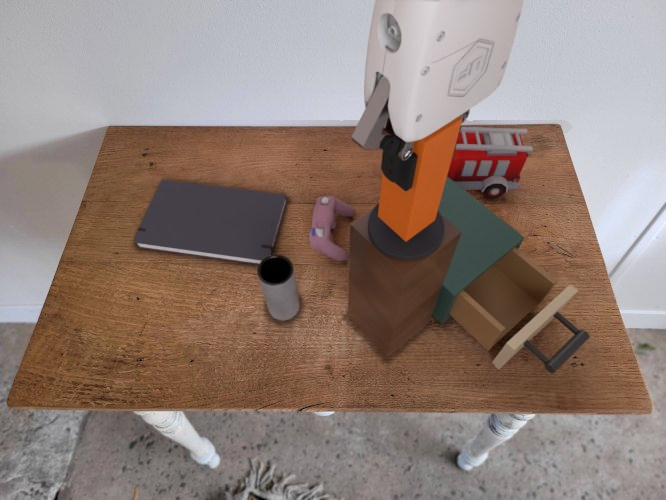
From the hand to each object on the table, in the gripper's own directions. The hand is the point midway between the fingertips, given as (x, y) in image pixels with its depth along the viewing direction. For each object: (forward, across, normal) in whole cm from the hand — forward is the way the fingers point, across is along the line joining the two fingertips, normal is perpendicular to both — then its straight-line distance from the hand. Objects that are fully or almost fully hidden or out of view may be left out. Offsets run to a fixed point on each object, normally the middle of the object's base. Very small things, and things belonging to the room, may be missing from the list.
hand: (416, 164), depth 41 cm
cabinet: (+31, +12, +2) cm, 33 cm away
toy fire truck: (+31, +26, +12) cm, 42 cm away
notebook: (+31, -10, +30) cm, 44 cm away
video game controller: (+31, +3, +16) cm, 35 cm away
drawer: (+30, +12, -10) cm, 34 cm away
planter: (+31, -10, +11) cm, 35 cm away
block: (+8, 0, 0) cm, 8 cm away
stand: (+31, 0, 0) cm, 31 cm away
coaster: (+9, 0, 0) cm, 9 cm away
